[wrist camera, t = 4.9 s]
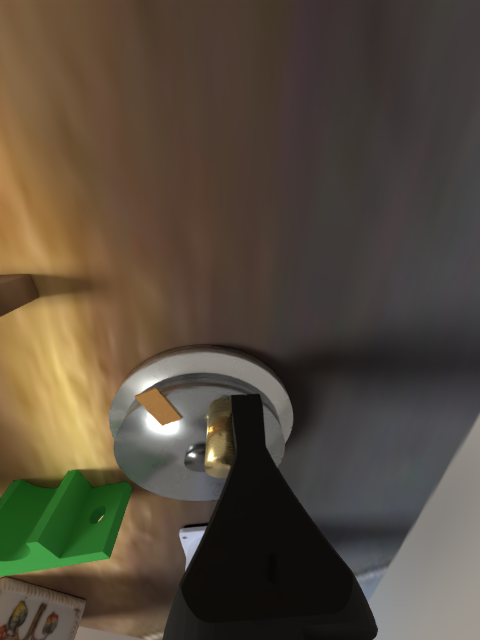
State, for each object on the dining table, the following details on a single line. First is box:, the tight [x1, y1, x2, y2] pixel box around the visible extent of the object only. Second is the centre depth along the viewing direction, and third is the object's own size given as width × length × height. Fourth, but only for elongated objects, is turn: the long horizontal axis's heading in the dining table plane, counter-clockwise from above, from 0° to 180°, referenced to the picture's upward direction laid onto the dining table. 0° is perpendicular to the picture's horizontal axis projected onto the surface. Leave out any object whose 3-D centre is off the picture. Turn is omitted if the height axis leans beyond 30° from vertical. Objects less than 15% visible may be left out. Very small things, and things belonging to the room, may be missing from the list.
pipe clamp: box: [0, 470, 132, 577], centre depth 17 cm, size 11×4×5 cm, turn 100°
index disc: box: [114, 373, 285, 501], centre depth 13 cm, size 10×10×4 cm
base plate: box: [109, 345, 293, 443], centre depth 16 cm, size 12×12×1 cm
